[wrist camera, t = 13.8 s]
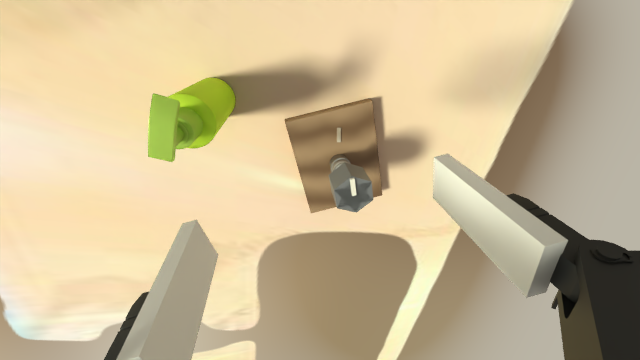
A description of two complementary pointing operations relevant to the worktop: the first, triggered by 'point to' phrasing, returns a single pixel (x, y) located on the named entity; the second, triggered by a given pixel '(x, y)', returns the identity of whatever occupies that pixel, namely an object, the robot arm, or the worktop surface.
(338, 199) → the knob
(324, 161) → the wooden board with bolt
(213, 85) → the soap dispenser
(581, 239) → the robot arm
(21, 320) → the worktop surface
